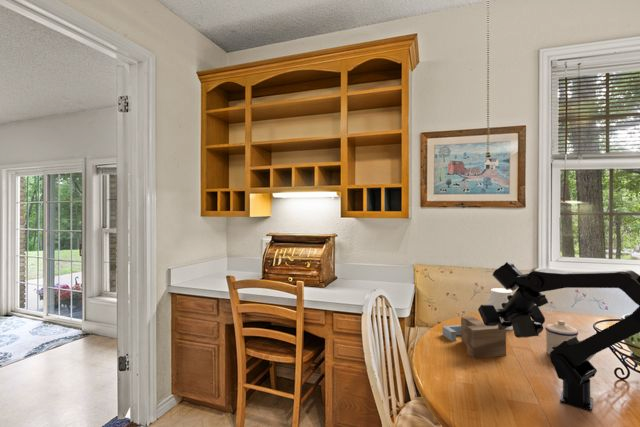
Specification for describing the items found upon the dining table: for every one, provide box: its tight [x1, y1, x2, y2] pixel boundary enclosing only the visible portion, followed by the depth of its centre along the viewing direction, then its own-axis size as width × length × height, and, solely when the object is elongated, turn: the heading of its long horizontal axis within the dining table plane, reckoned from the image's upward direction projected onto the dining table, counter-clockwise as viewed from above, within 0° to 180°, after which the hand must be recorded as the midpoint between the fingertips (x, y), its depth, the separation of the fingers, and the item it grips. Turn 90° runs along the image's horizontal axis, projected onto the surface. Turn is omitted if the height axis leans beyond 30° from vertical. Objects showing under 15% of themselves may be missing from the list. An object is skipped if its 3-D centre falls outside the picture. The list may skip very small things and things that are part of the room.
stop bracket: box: [442, 324, 461, 342], centre depth 133 cm, size 6×11×4 cm, turn 99°
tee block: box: [460, 315, 507, 359], centre depth 122 cm, size 14×12×10 cm
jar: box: [486, 287, 514, 331], centre depth 145 cm, size 12×10×15 cm
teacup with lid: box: [544, 319, 579, 356], centre depth 116 cm, size 12×9×12 cm
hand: (499, 328), depth 111 cm, fingers closed
